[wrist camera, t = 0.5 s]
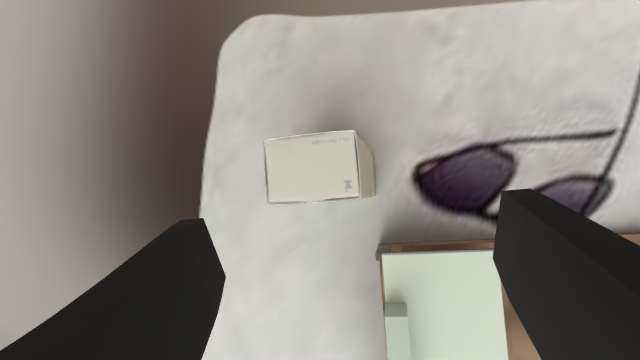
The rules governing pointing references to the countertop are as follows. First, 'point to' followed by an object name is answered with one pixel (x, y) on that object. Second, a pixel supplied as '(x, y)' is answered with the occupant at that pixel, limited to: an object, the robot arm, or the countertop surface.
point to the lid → (443, 306)
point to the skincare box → (318, 168)
